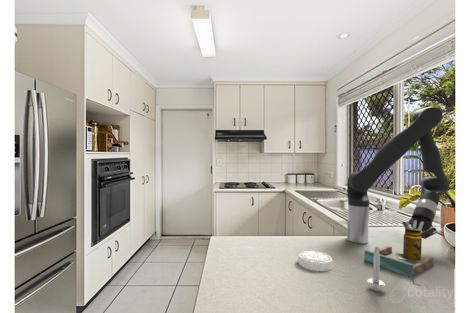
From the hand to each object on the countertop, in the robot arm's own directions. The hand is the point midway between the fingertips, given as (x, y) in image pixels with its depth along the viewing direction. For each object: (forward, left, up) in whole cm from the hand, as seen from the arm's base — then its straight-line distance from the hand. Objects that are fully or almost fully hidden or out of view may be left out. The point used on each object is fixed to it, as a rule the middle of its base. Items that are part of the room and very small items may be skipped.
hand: (412, 244), depth 109 cm
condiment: (-2, -3, -5) cm, 6 cm away
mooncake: (-35, -29, -5) cm, 46 cm away
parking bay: (-7, -11, -5) cm, 14 cm away
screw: (-16, -40, -5) cm, 43 cm away
